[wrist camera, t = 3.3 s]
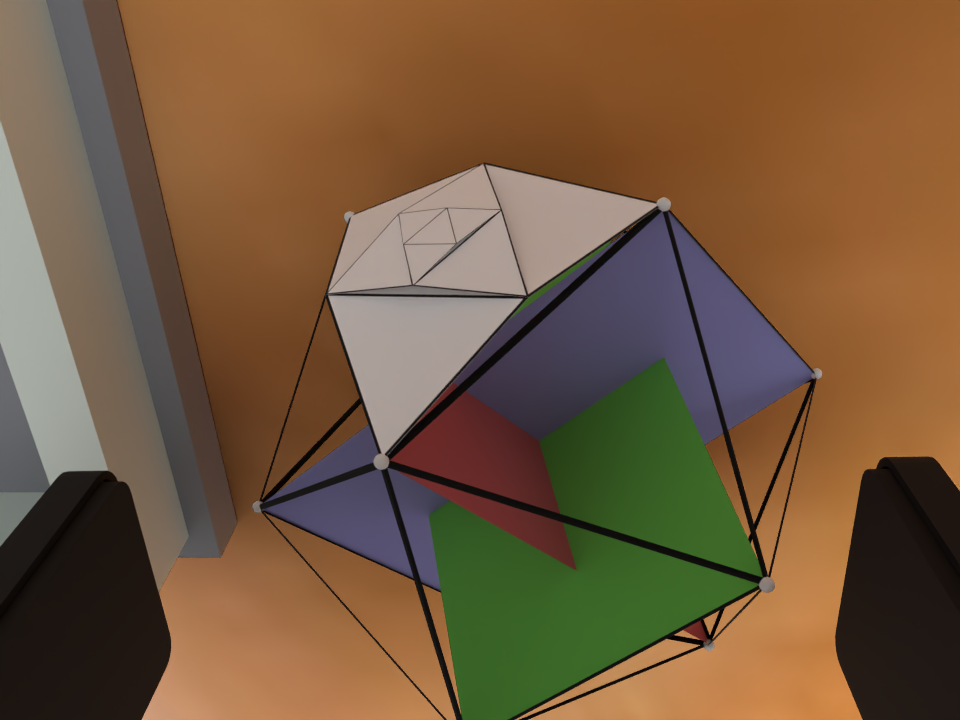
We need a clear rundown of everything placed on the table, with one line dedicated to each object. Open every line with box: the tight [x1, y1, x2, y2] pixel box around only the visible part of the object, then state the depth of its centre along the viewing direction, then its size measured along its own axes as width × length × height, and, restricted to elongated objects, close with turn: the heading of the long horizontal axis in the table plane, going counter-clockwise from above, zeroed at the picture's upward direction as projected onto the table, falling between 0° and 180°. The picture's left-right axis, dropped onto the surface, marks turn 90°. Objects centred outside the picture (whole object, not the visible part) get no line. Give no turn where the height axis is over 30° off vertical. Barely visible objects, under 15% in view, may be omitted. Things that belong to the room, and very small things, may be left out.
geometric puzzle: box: [253, 163, 822, 720], centre depth 12 cm, size 7×7×8 cm
